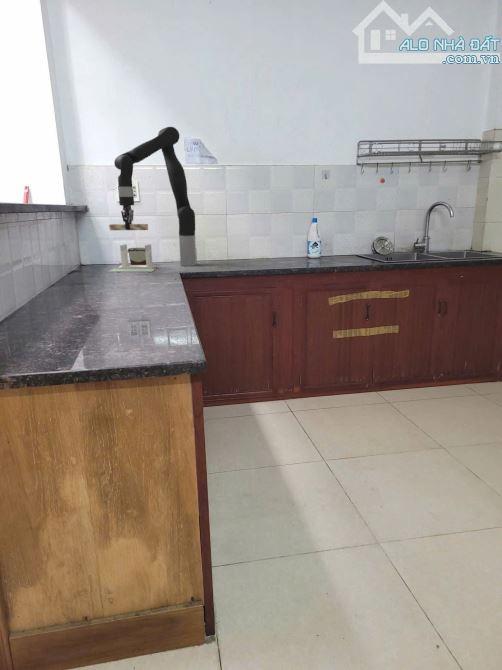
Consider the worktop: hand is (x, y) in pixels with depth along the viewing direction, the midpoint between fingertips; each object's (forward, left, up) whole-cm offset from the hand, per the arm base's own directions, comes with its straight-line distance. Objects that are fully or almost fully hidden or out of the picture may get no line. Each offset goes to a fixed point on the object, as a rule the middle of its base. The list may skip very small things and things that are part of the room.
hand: (128, 229), depth 253 cm
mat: (0, 0, -22) cm, 22 cm away
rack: (0, -10, -22) cm, 24 cm away
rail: (0, 0, 0) cm, 0 cm away
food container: (+2, -22, -22) cm, 31 cm away
